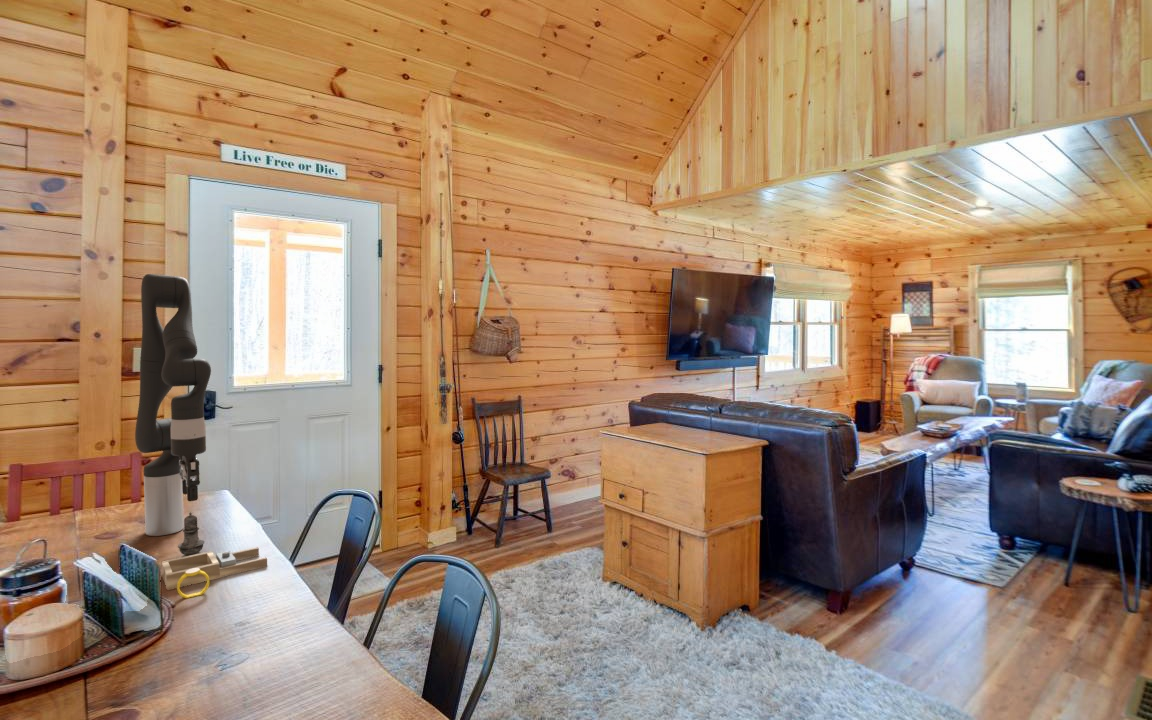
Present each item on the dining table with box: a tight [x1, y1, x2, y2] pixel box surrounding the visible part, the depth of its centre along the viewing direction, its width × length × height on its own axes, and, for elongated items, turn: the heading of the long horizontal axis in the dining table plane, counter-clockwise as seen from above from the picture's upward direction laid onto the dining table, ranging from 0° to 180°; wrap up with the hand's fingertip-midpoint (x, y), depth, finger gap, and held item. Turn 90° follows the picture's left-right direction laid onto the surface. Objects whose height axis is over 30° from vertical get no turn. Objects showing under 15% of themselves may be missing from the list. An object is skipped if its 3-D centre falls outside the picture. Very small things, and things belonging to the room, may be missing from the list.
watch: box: [176, 568, 210, 599], centre depth 129 cm, size 6×3×6 cm, turn 128°
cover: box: [216, 550, 237, 568], centre depth 144 cm, size 7×3×4 cm, turn 41°
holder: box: [161, 546, 268, 591], centre depth 142 cm, size 10×21×4 cm, turn 131°
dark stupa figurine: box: [177, 511, 206, 558], centre depth 150 cm, size 6×6×12 cm
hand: (190, 496), depth 150 cm, fingers open, 8 cm apart
